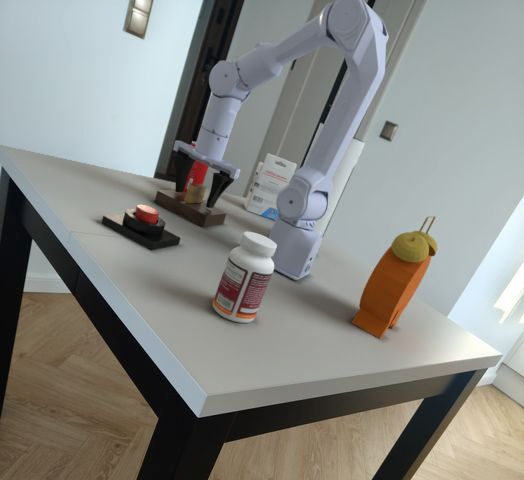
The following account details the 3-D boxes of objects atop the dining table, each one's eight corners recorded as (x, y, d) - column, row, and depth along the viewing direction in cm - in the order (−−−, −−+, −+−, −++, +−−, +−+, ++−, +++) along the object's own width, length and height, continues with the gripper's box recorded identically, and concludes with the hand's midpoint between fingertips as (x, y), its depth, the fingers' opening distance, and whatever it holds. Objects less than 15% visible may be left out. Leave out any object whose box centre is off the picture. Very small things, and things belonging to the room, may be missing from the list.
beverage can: (172, 191, 116) (188, 138, 111) (193, 197, 119) (209, 146, 114) (178, 199, 113) (195, 144, 108) (200, 204, 115) (217, 152, 110)
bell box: (178, 244, 86) (183, 228, 85) (151, 250, 79) (157, 232, 78) (131, 219, 88) (135, 203, 87) (101, 223, 81) (105, 205, 80)
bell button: (160, 223, 84) (163, 213, 83) (147, 224, 80) (150, 214, 80) (142, 214, 84) (145, 204, 84) (129, 215, 81) (132, 204, 80)
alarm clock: (368, 309, 95) (421, 208, 87) (397, 325, 93) (454, 223, 85) (345, 322, 84) (403, 208, 75) (378, 341, 82) (441, 225, 73)
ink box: (273, 215, 135) (294, 161, 128) (276, 221, 130) (298, 164, 124) (243, 205, 132) (263, 148, 126) (245, 210, 128) (266, 152, 122)
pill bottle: (253, 311, 73) (281, 240, 69) (253, 329, 68) (285, 254, 63) (212, 297, 72) (238, 224, 67) (209, 314, 67) (238, 237, 62)
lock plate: (223, 224, 108) (227, 212, 107) (202, 227, 100) (206, 214, 99) (177, 200, 111) (181, 189, 110) (153, 202, 103) (157, 189, 102)
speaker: (316, 260, 111) (370, 141, 100) (272, 243, 110) (321, 120, 99) (314, 248, 121) (363, 137, 110) (274, 231, 120) (319, 118, 108)
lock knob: (196, 200, 107) (201, 182, 105) (201, 202, 107) (207, 185, 105) (184, 200, 103) (189, 182, 101) (189, 203, 102) (195, 185, 101)
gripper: (173, 115, 96) (154, 184, 102) (238, 145, 93) (214, 215, 99) (192, 119, 103) (173, 184, 109) (253, 148, 100) (230, 213, 106)
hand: (194, 199), depth 104 cm, fingers open, 7 cm apart
